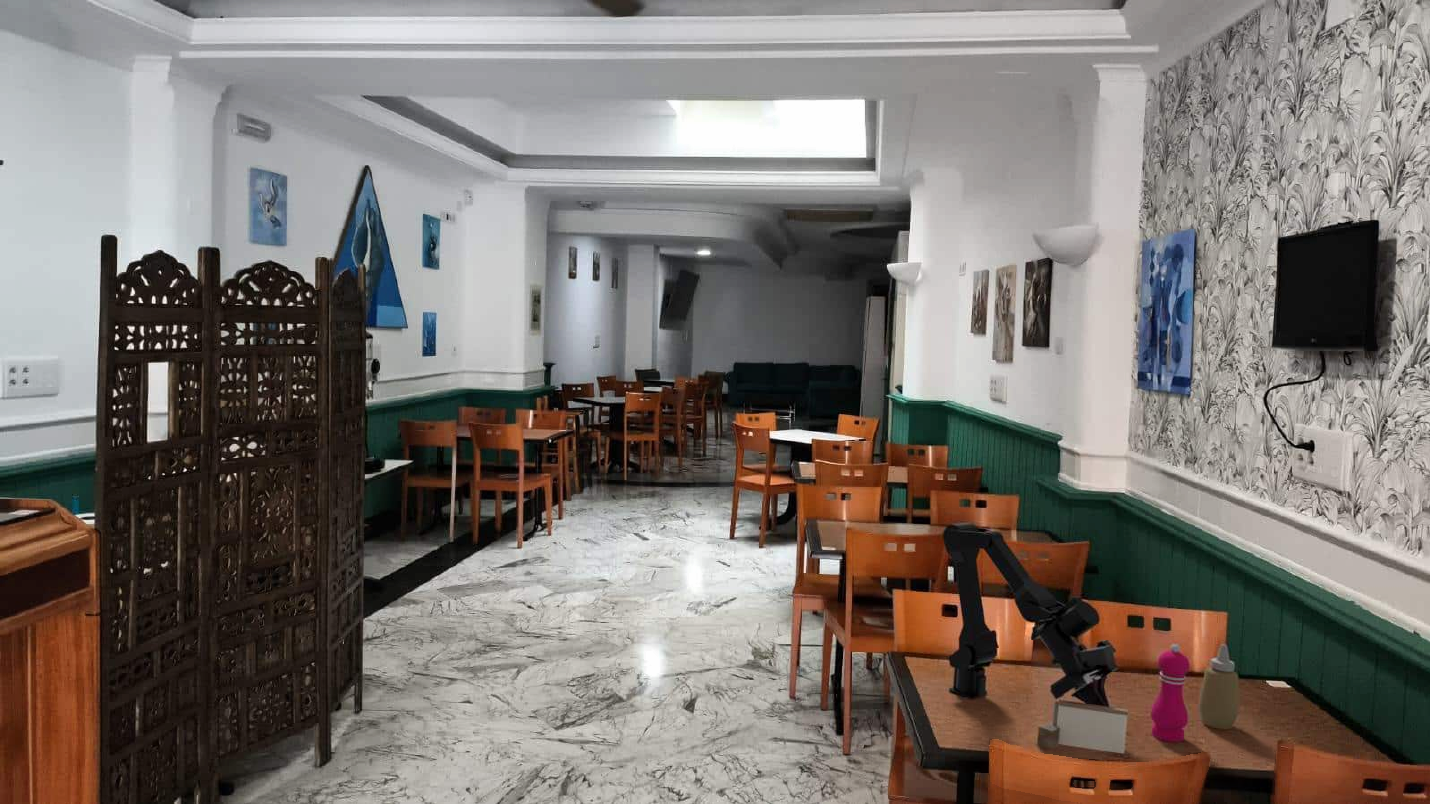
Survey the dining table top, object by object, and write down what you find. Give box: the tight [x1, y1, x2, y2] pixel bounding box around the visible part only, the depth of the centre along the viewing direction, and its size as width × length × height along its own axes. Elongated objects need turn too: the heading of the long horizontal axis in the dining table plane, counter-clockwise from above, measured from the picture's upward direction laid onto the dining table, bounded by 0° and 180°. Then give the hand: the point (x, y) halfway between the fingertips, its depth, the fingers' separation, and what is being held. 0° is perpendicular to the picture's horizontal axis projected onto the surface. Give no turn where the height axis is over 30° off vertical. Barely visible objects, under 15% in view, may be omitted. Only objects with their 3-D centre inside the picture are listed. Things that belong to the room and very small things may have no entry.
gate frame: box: [1036, 722, 1060, 751], centre depth 207 cm, size 3×19×4 cm, turn 132°
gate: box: [1052, 699, 1129, 754], centre depth 201 cm, size 1×14×9 cm, turn 74°
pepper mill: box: [1150, 643, 1190, 743], centre depth 209 cm, size 7×7×20 cm
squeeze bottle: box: [1198, 643, 1240, 730], centre depth 217 cm, size 8×8×18 cm
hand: (1109, 715), depth 202 cm, fingers closed
